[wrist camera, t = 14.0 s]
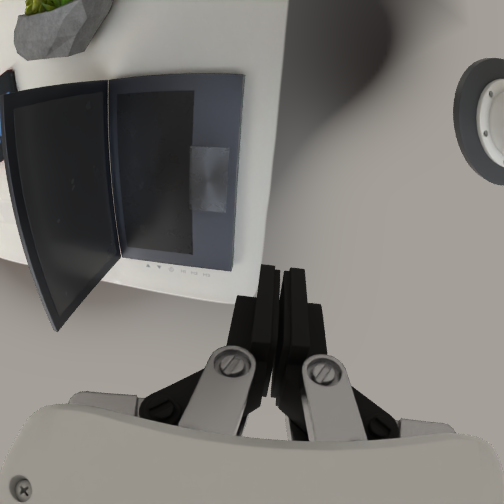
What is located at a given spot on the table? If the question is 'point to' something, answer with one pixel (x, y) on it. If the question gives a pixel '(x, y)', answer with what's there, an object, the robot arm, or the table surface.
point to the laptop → (176, 166)
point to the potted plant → (58, 27)
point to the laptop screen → (61, 189)
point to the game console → (5, 86)
